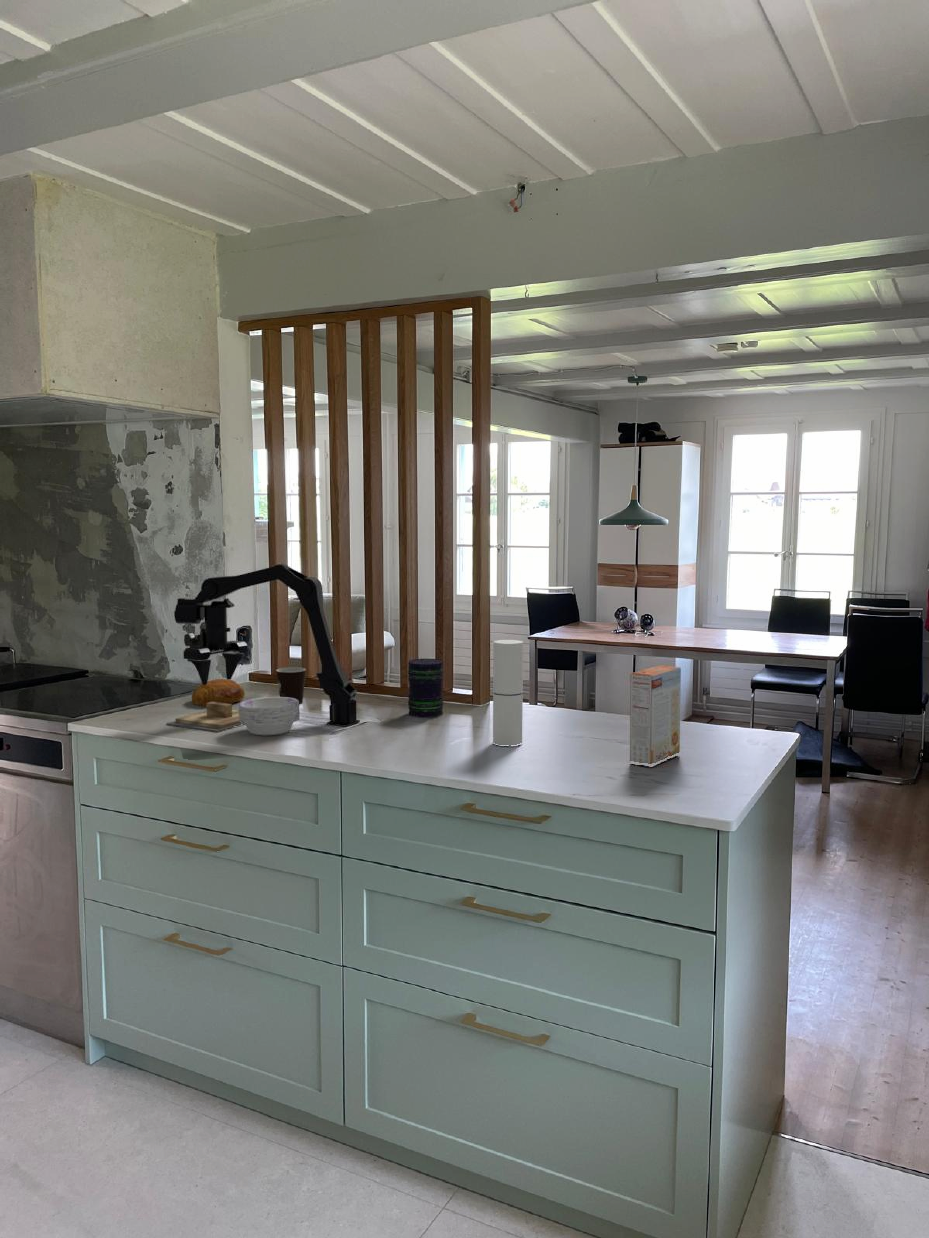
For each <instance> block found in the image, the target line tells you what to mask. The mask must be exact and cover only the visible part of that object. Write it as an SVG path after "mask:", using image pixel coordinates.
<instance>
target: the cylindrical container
mask: <svg viewBox="0 0 929 1238" xmlns="http://www.w3.org/2000/svg"><path fill="white" fill-rule="evenodd" d="M492 643H493V647H492V648H493V649H492V650H493V652H492V654H493V656H492V657H493V658H492V659H493V660H492V661H493V662H492V663H493V665H492V675H493V676H492V677H493V678H492V681H493V682H492V683H493V684H492V685H493V686H492V744H493V743H495V744H498V745H509V746H511V745H517V744H520V743H522V744H523V707H524V706H523V701H524V696H523V695H524V694H523V693H524V692H523V690H524V687H523V686H524V685H523V684H524V683H523V682H524V641H523V640H518V639H498V640H494V641H493V642H492Z"/></svg>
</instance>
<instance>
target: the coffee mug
mask: <svg viewBox="0 0 929 1238" xmlns="http://www.w3.org/2000/svg"><path fill="white" fill-rule="evenodd" d="M306 672H307V668H303V667H281V668H277V669H276V670H275V673H276V680H277V687H278V694H279V697H289V698H294V699H297V700H298V701H299V706H300V705H303V701H304V693H305V692H304V690H305V683H306V682H305V681H306Z"/></svg>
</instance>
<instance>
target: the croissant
mask: <svg viewBox="0 0 929 1238" xmlns="http://www.w3.org/2000/svg"><path fill="white" fill-rule="evenodd" d="M244 697H245V690H244V688H243V687H242V686H241V685H240V684H239V683H237V682H236V681H235V680H232V679H231V680H228V679H226V678H225V679H224V678H217V679H210V680H208V681H207V684H206V685H203V684H202V683H201V684H199V685H197V686H196V687H195V688H194V690H193V692H192V694H191V702H192V703H193V704H194V705H196V706H199V705H200V706H201V707H203V708H204V707H205V708H207V705H206V703H209V702H218V703H226V704H235V703H239V702H242V700H243V699H244ZM200 706H199V707H200Z"/></svg>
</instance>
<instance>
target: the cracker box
mask: <svg viewBox="0 0 929 1238" xmlns="http://www.w3.org/2000/svg"><path fill="white" fill-rule="evenodd" d="M681 670H682V668H681V666H680V667H679V666H678V667H677V666H672V665H671V666H670V665H664V664H661V665H657V666H652V667H649V668H646V669H642V670H638V671H635V672H631V673H630V674H629V679H630V684H629V687H630V689H629V690H630V691H629V693H630V697H629V698H630V699H629V701H630V702H629V706H630V708H629V714H630V715H629V762H630V761H634V762H639V763H648V764H652V763H656V762H658V761H660V760H663V759H665V758H667V757H668V756H672V755H674V754H676V753H679V752H680V751H681V746H680V745H681V743H680V741H681V690H682V689H681V687H682V686H681V685H682V684H681V681H682V680H681V679H682V678H681V677H682V671H681Z"/></svg>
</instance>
